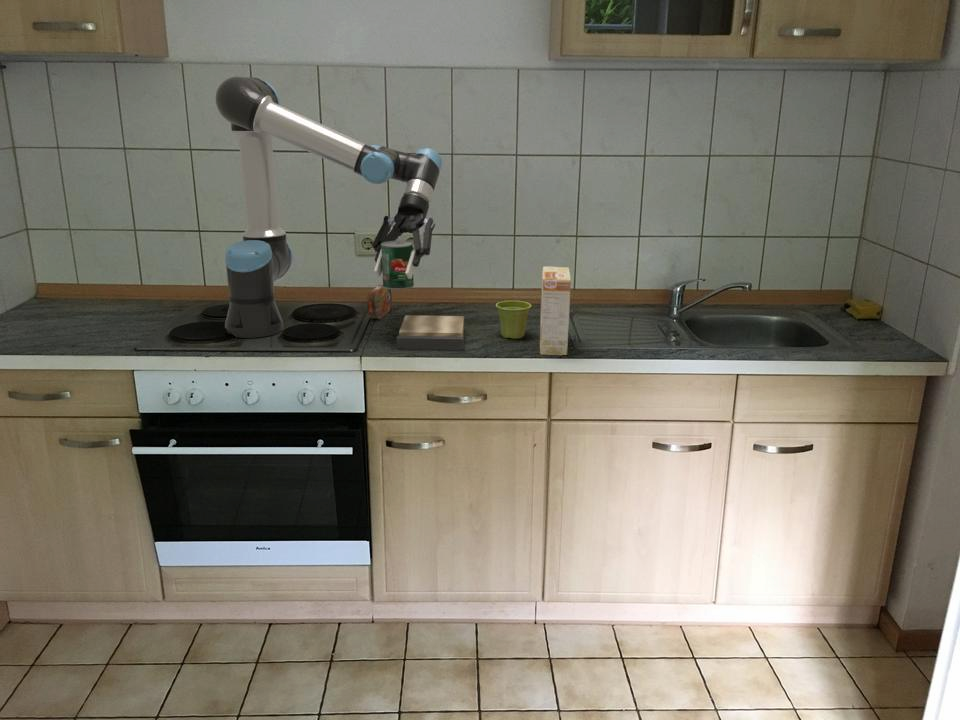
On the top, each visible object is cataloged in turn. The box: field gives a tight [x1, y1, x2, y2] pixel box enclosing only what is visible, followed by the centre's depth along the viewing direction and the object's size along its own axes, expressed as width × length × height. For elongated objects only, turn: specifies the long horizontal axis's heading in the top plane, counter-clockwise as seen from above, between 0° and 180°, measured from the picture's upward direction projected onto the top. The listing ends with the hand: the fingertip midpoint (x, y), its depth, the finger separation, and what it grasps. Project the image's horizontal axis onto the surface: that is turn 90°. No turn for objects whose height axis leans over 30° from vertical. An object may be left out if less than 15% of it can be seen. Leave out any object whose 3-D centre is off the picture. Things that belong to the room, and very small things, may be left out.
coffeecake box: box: [539, 265, 572, 356], centre depth 198 cm, size 15×7×20 cm, turn 175°
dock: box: [396, 314, 465, 351], centre depth 205 cm, size 17×18×4 cm
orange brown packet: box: [366, 284, 393, 320], centre depth 226 cm, size 15×3×8 cm, turn 168°
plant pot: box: [495, 300, 532, 340], centre depth 208 cm, size 9×9×9 cm
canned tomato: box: [381, 240, 415, 291], centre depth 197 cm, size 8×8×11 cm
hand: (392, 275), depth 194 cm, fingers closed on canned tomato, 8 cm apart
